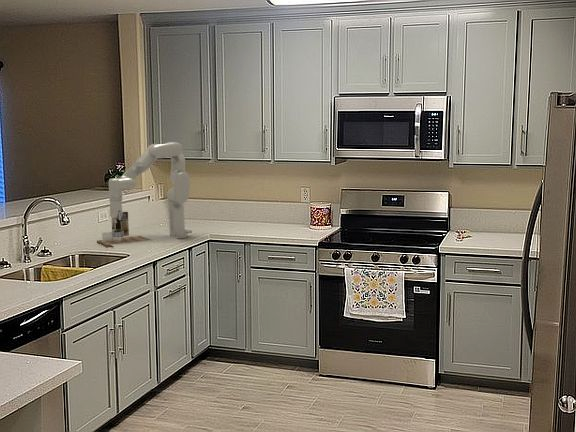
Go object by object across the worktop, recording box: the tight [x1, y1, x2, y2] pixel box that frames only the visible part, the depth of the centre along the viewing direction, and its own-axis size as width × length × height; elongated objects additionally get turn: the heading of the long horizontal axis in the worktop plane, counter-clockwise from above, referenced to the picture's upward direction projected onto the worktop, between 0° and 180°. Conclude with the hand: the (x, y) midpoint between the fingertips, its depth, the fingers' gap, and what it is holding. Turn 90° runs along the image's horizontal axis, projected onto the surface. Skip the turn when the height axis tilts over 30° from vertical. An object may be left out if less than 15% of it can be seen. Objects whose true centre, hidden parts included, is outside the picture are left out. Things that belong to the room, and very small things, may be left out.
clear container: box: [101, 228, 125, 243], centre depth 443 cm, size 13×13×6 cm
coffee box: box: [110, 211, 130, 237], centre depth 464 cm, size 9×6×16 cm
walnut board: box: [96, 235, 152, 248], centre depth 445 cm, size 28×19×2 cm
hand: (117, 228), depth 441 cm, fingers closed on brass pin, 3 cm apart
